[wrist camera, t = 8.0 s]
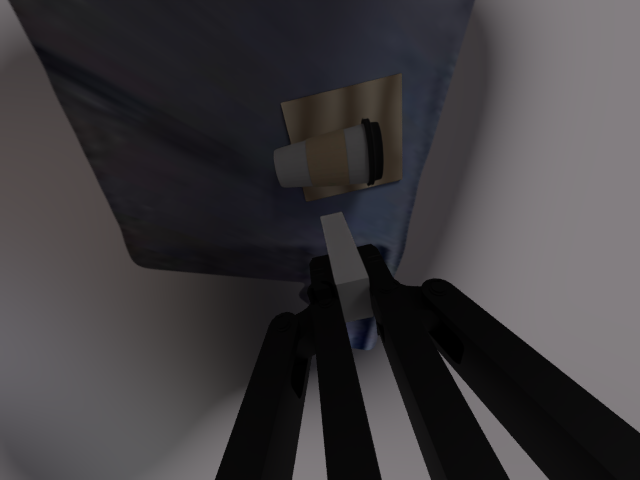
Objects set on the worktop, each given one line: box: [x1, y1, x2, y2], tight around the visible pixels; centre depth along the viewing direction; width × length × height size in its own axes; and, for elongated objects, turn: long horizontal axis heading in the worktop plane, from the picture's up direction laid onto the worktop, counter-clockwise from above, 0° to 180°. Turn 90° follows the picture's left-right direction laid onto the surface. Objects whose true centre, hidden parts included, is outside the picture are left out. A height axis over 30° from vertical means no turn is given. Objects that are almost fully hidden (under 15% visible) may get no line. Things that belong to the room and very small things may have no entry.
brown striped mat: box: [281, 73, 402, 202], centre depth 38 cm, size 18×16×1 cm
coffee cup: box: [274, 118, 384, 188], centre depth 35 cm, size 9×9×15 cm
